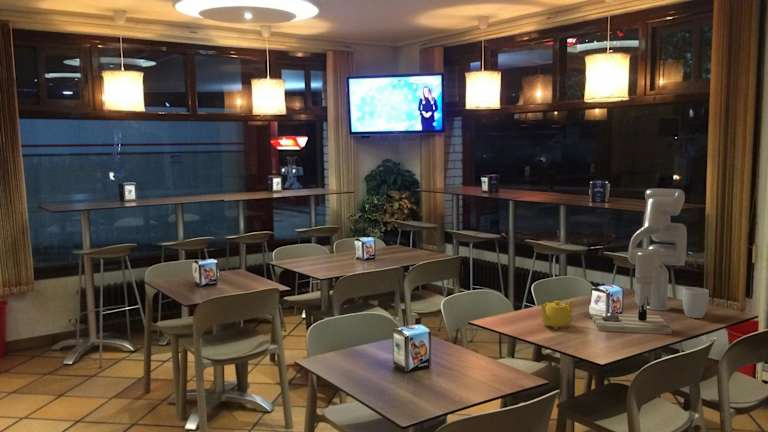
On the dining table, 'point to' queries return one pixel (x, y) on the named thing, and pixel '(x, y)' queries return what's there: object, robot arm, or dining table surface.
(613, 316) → the ball
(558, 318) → the teapot
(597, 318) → the runway board
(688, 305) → the mug
